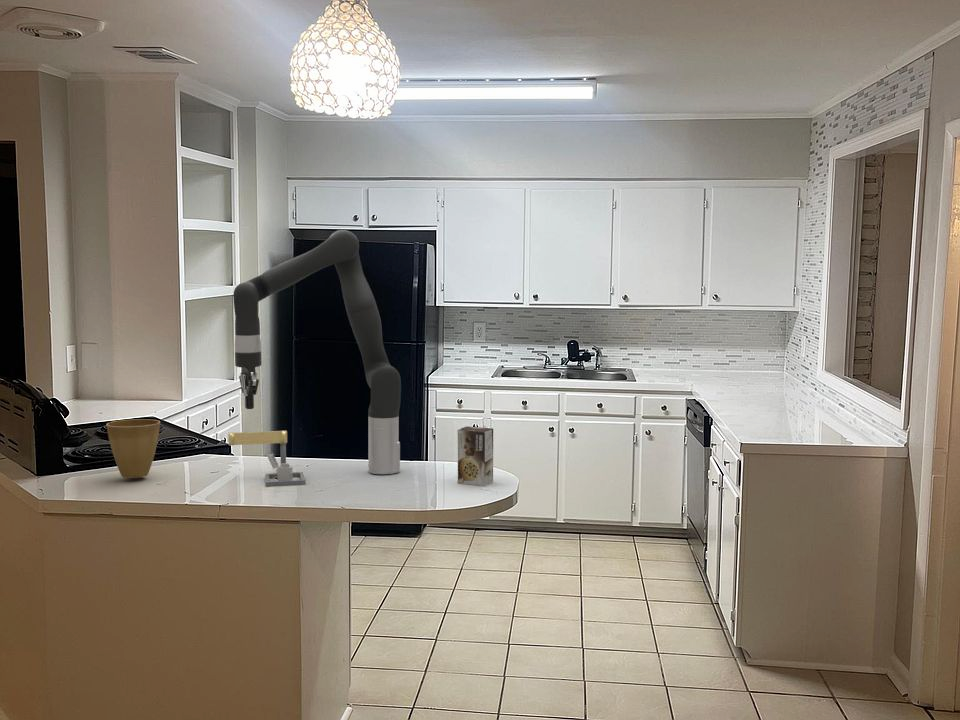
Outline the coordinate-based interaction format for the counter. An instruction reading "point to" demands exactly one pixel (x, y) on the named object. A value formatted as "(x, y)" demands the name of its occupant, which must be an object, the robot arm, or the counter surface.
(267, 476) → the switch
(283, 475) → the grey angled piece
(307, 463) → the counter surface
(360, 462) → the counter surface
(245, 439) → the gold bar
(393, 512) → the counter surface
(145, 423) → the plant pot
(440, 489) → the counter surface
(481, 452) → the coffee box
